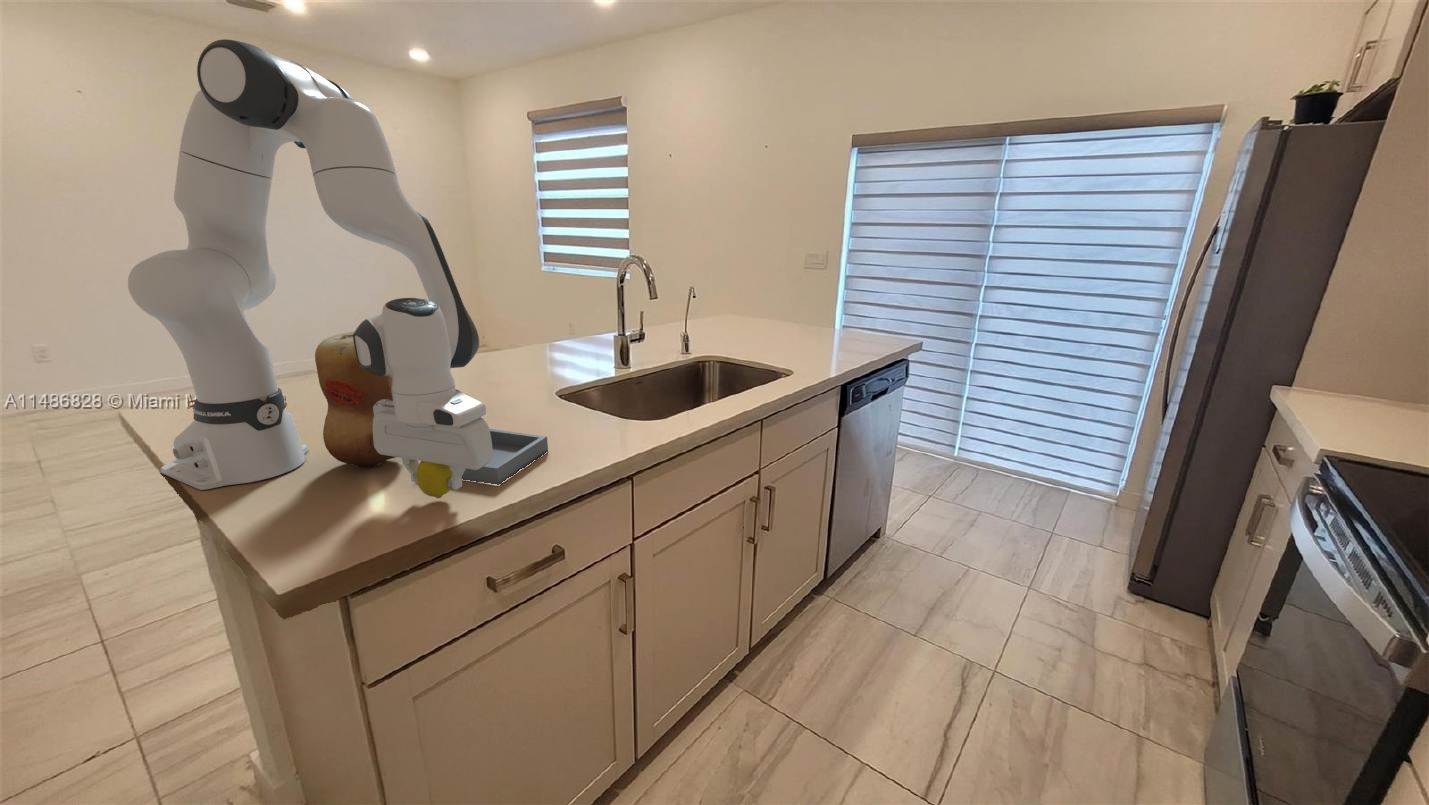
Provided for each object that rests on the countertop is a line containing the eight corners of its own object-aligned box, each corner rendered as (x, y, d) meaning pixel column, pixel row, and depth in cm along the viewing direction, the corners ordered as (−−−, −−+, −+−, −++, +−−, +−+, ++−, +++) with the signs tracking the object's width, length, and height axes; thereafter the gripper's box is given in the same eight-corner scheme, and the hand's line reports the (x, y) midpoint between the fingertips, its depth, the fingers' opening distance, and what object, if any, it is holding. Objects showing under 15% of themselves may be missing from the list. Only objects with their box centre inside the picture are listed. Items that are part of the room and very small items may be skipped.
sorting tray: (422, 474, 100) (420, 456, 99) (480, 443, 115) (478, 427, 114) (499, 486, 97) (497, 468, 96) (548, 452, 111) (547, 436, 110)
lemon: (412, 500, 90) (405, 455, 88) (442, 487, 95) (436, 444, 92) (434, 509, 88) (428, 463, 85) (464, 495, 92) (459, 451, 90)
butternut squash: (313, 479, 97) (282, 340, 90) (354, 450, 110) (331, 325, 102) (394, 479, 98) (371, 341, 91) (426, 449, 111) (408, 326, 103)
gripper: (355, 403, 86) (369, 483, 90) (467, 418, 81) (476, 502, 85) (388, 392, 92) (400, 468, 96) (494, 405, 87) (502, 485, 91)
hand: (437, 484), depth 91 cm, fingers closed on lemon, 6 cm apart
